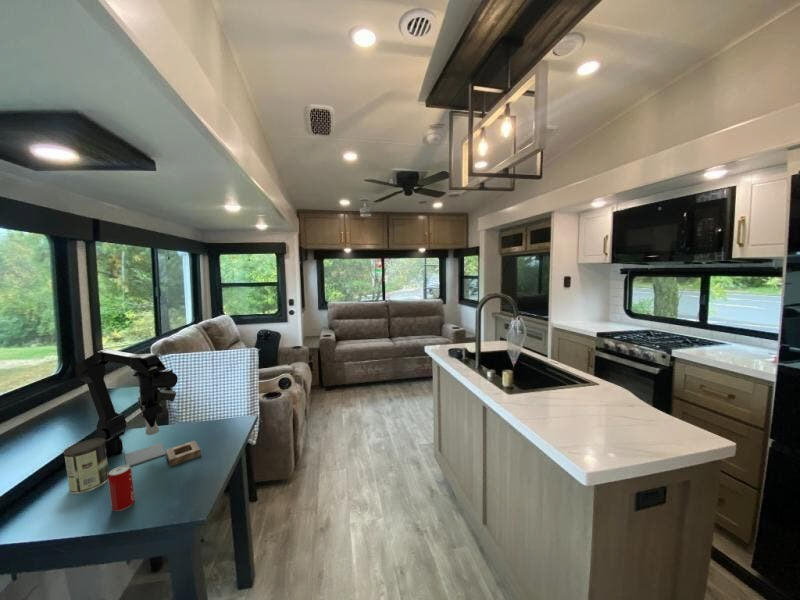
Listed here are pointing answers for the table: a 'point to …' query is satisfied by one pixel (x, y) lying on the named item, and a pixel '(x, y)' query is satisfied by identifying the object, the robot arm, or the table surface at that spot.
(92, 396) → the robot arm
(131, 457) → the grey mat
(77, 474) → the coffee can
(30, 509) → the table surface
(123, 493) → the soda can
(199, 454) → the brown wooden frame
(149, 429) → the rook chess piece
